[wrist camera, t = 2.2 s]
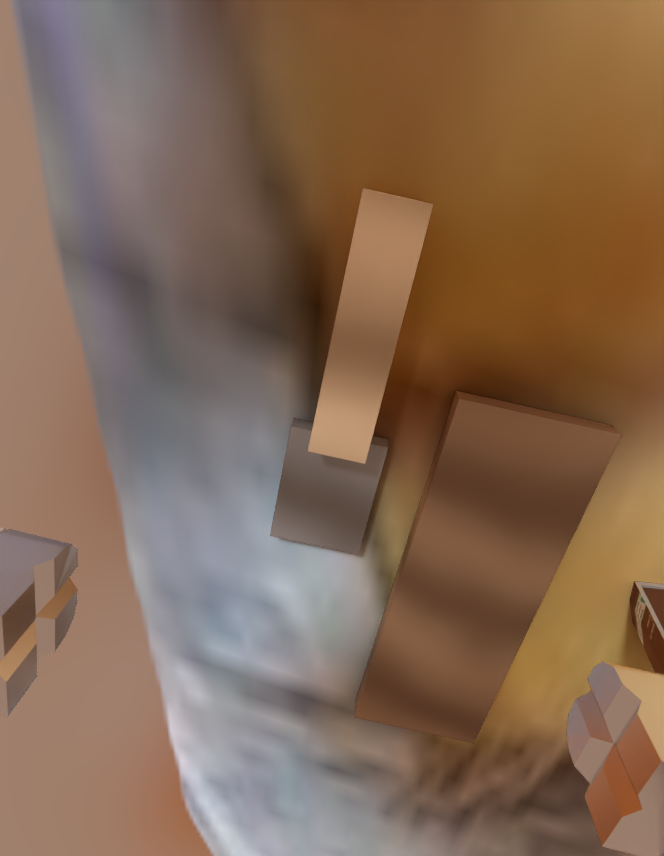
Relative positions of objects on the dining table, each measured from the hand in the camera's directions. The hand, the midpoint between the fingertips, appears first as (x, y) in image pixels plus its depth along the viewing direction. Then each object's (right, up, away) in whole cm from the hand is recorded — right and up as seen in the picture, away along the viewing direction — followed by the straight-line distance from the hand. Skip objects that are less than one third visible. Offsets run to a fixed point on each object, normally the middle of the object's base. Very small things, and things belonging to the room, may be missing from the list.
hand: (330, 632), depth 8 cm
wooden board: (+7, -5, +19) cm, 21 cm away
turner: (+1, +5, +15) cm, 16 cm away
